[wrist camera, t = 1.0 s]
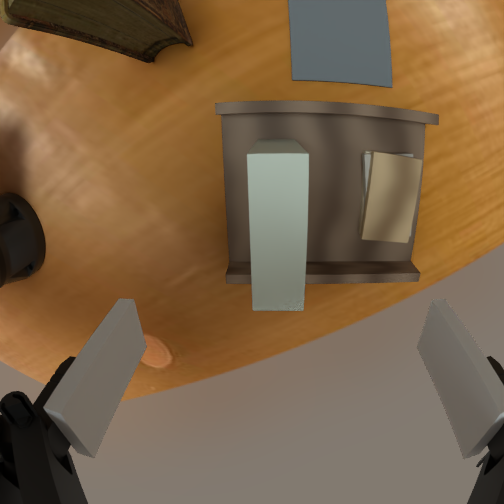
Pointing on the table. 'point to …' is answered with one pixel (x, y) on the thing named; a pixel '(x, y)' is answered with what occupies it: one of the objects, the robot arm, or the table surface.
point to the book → (105, 23)
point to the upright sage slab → (278, 223)
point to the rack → (323, 182)
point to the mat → (340, 41)
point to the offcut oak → (390, 197)
